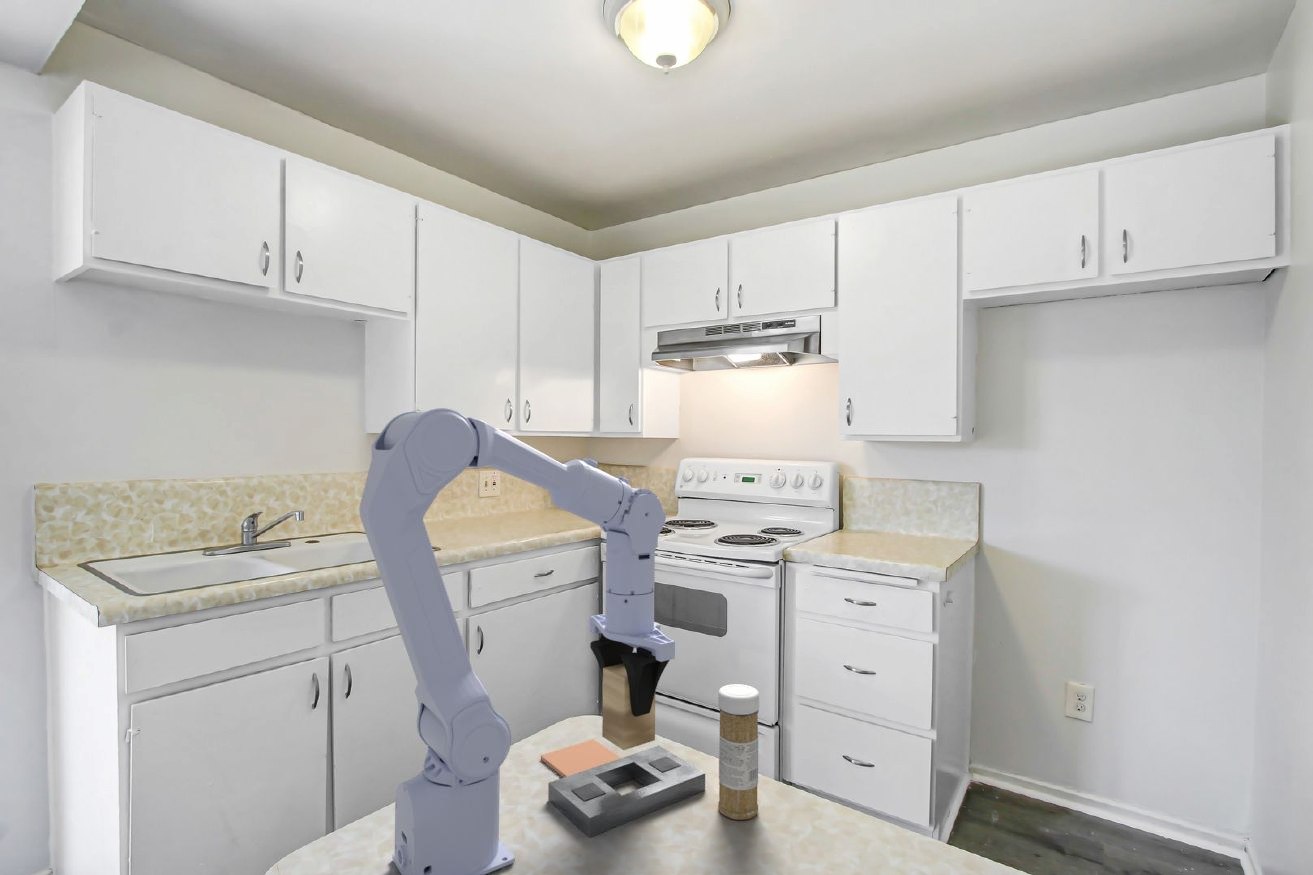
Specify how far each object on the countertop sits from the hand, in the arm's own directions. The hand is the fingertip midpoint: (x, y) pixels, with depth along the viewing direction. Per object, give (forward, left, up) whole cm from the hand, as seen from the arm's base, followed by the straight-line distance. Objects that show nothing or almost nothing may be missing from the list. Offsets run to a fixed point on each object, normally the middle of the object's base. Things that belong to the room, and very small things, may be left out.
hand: (628, 706), depth 77 cm
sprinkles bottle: (+8, -10, -10) cm, 16 cm away
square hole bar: (0, 0, -10) cm, 10 cm away
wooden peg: (0, 0, -4) cm, 4 cm away
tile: (0, +10, -10) cm, 14 cm away
